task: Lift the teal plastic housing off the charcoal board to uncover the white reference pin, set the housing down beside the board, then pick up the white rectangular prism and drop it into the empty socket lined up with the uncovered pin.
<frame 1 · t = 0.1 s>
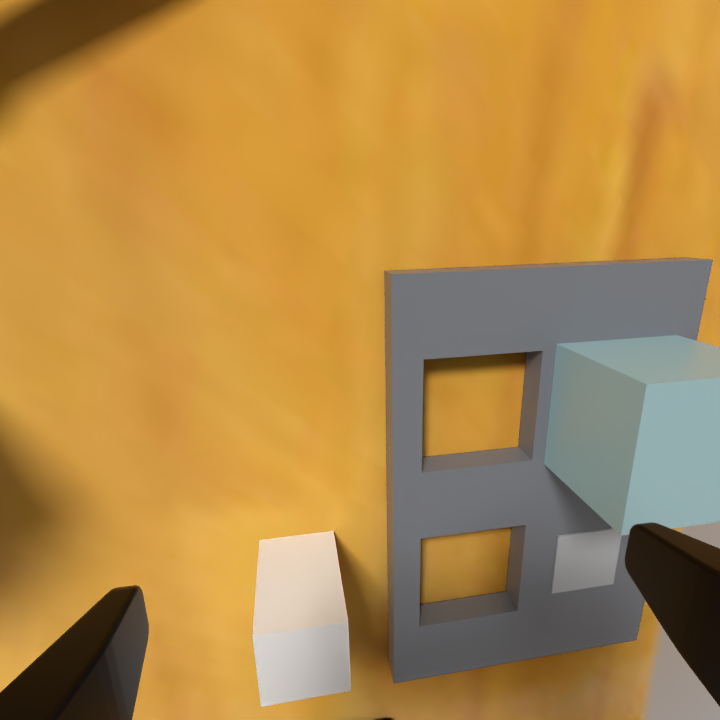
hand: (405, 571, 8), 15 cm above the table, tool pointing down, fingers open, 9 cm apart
housing: (609, 400, 24), point 1 cm above the table, touching pin board
white rectangular prism: (299, 565, 25), on the table
pin board: (523, 477, 26), on the table
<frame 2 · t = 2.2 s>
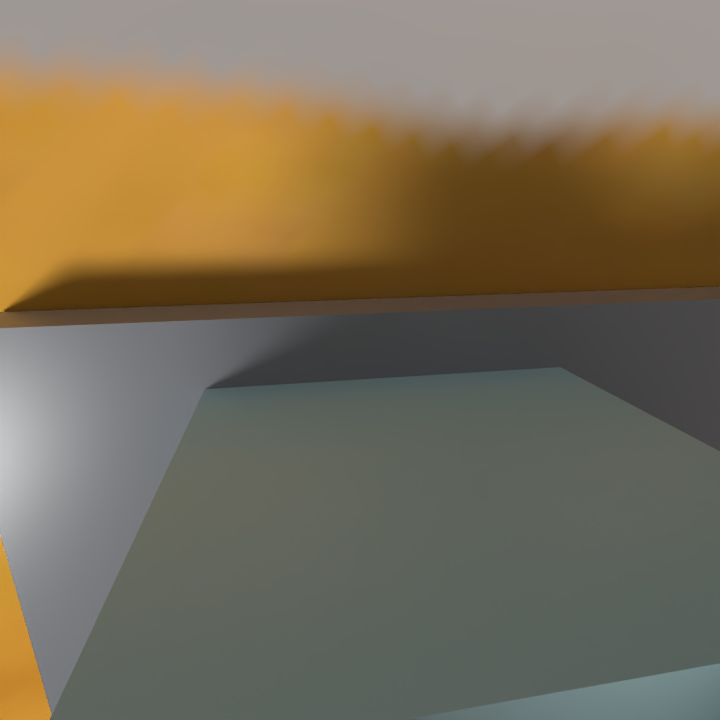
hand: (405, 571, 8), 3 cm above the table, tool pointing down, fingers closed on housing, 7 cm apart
housing: (390, 530, 9), point 1 cm above the table, touching gripper, pin board
pin board: (555, 583, 12), on the table
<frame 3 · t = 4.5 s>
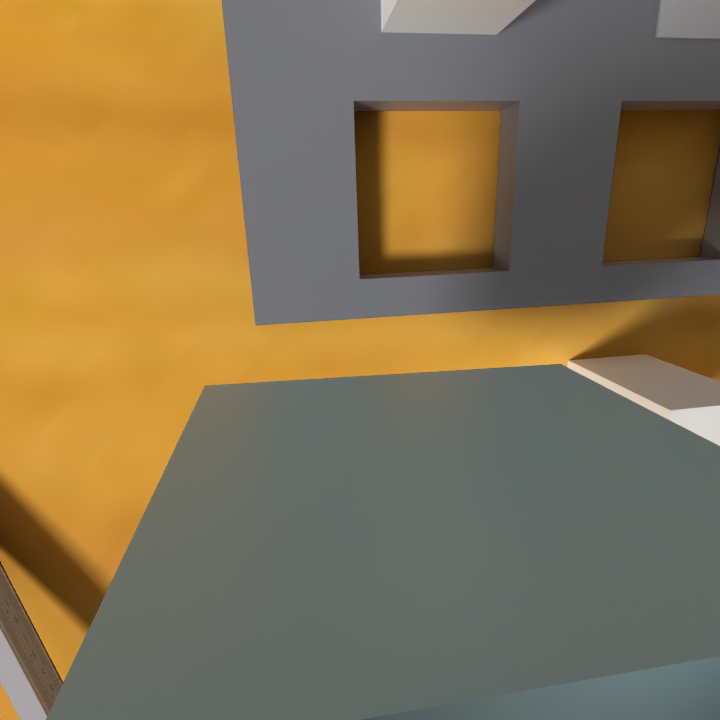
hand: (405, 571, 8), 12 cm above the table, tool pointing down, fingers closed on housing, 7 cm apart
caliper: (46, 601, 21), on the table
housing: (391, 528, 9), point 11 cm above the table, touching gripper
white rectangular prism: (601, 396, 22), on the table
pin board: (550, 96, 18), on the table
when the fingers open (2 cm above the table, at t = 7.2 s): housing drops 1 cm, on the table.
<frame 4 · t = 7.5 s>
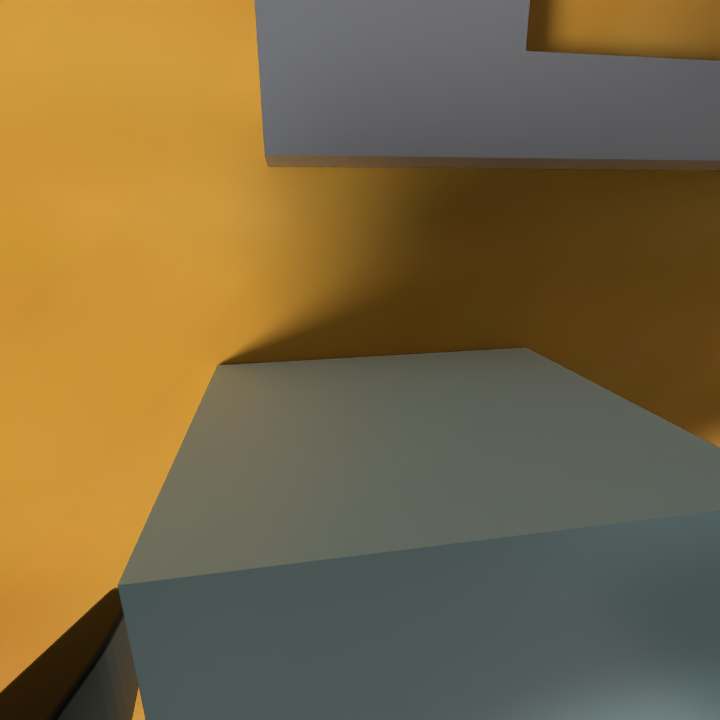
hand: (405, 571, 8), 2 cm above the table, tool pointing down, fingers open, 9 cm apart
housing: (379, 492, 11), on the table
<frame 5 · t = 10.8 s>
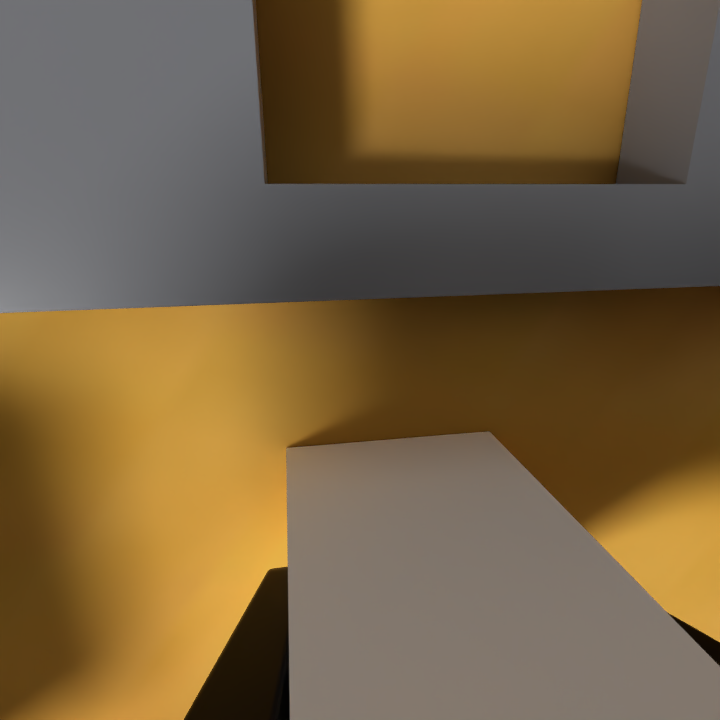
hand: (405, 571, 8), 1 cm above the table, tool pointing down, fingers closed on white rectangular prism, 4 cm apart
white rectangular prism: (390, 527, 9), on the table, touching gripper
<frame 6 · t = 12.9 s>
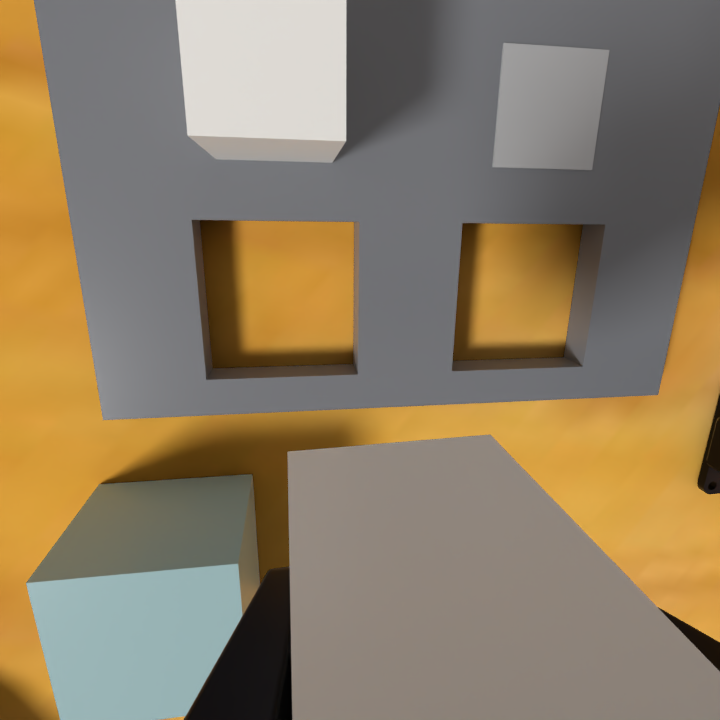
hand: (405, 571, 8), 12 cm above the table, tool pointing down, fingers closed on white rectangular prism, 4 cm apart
housing: (185, 540, 21), on the table
white rectangular prism: (391, 530, 9), point 11 cm above the table, touching gripper
pin board: (403, 209, 18), on the table
when the fingers open (2 cm above the table, at t = 15.3 s): white rectangular prism drops 1 cm, resting in pin board.
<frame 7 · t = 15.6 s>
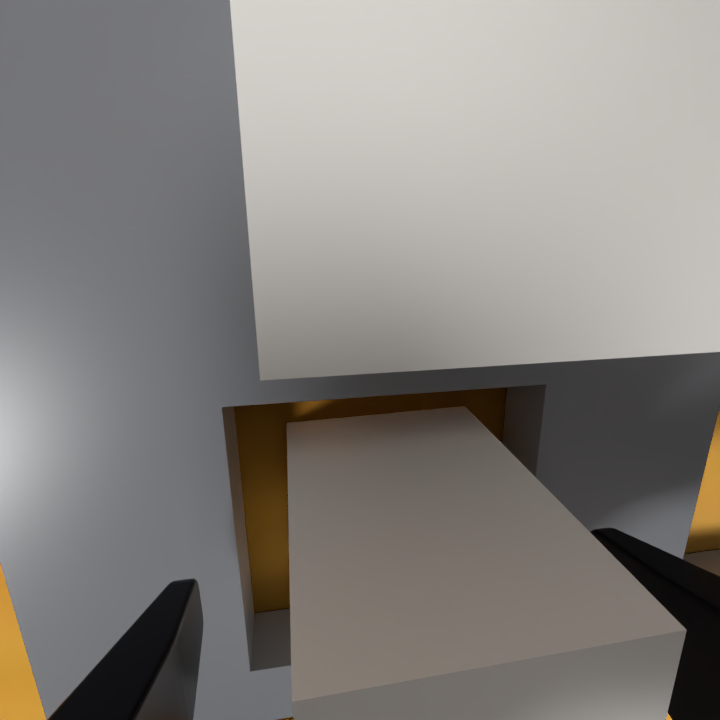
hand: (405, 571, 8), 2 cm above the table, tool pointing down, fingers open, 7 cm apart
white rectangular prism: (379, 492, 11), resting in pin board
pin board: (594, 335, 10), on the table
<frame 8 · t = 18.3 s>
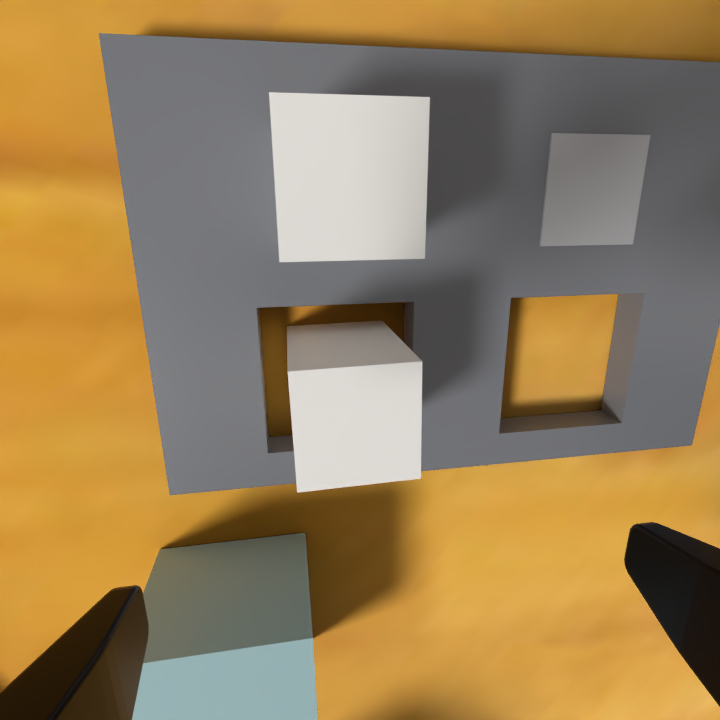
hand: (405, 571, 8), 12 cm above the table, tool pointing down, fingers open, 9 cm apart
housing: (240, 597, 22), on the table
white rectangular prism: (337, 368, 20), resting in pin board
pin board: (450, 282, 19), on the table
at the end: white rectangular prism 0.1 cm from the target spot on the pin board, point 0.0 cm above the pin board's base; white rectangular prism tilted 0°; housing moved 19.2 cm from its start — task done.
